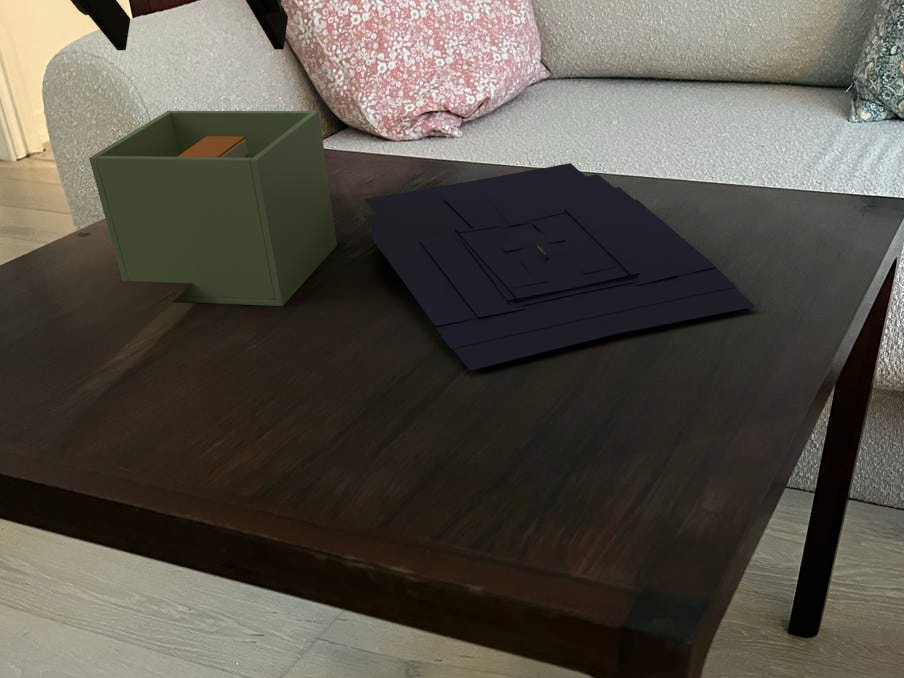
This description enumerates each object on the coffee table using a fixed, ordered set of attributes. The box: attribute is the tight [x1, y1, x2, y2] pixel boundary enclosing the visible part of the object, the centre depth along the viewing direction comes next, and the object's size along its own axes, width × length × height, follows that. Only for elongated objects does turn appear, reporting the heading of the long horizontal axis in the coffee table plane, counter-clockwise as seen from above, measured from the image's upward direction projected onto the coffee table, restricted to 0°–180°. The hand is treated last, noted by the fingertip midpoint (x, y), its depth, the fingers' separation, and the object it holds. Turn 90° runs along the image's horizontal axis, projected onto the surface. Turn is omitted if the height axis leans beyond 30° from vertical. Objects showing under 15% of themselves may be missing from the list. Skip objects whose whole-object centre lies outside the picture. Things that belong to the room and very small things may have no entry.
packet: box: [177, 136, 248, 158], centre depth 90 cm, size 4×6×10 cm, turn 167°
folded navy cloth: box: [362, 162, 756, 371], centre depth 88 cm, size 24×30×4 cm
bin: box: [88, 110, 338, 307], centre depth 90 cm, size 14×14×12 cm
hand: (201, 34), depth 84 cm, fingers open, 13 cm apart
